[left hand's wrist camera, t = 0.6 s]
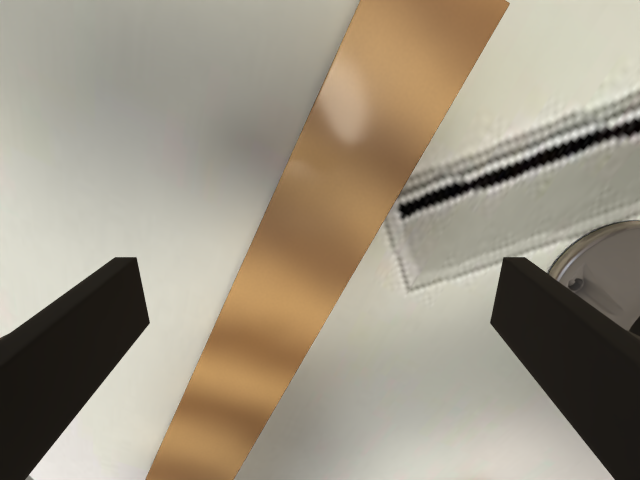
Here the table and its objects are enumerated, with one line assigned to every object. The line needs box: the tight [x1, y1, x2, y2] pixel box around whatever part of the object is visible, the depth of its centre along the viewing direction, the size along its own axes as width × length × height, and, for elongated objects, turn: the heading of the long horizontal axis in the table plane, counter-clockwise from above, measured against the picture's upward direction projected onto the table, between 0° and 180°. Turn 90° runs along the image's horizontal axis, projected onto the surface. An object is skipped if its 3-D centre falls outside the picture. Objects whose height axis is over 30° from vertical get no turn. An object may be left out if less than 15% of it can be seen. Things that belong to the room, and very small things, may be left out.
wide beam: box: [145, 0, 510, 480], centre depth 34 cm, size 62×9×7 cm, turn 154°
